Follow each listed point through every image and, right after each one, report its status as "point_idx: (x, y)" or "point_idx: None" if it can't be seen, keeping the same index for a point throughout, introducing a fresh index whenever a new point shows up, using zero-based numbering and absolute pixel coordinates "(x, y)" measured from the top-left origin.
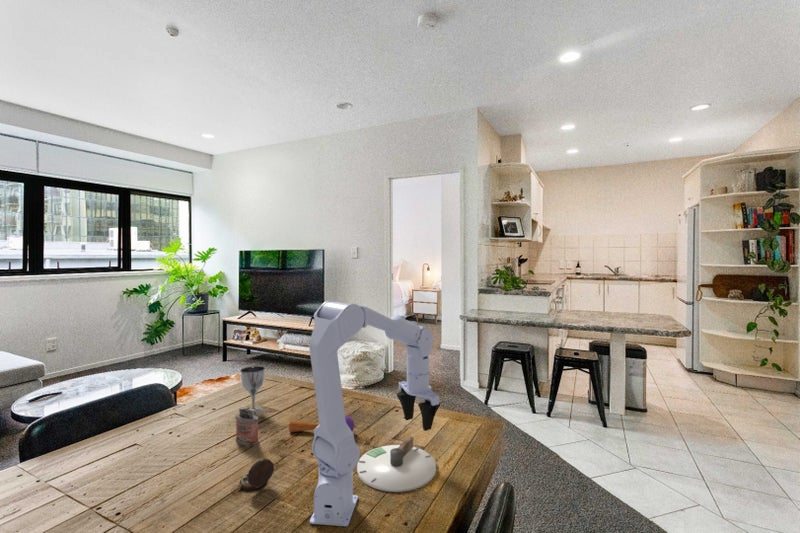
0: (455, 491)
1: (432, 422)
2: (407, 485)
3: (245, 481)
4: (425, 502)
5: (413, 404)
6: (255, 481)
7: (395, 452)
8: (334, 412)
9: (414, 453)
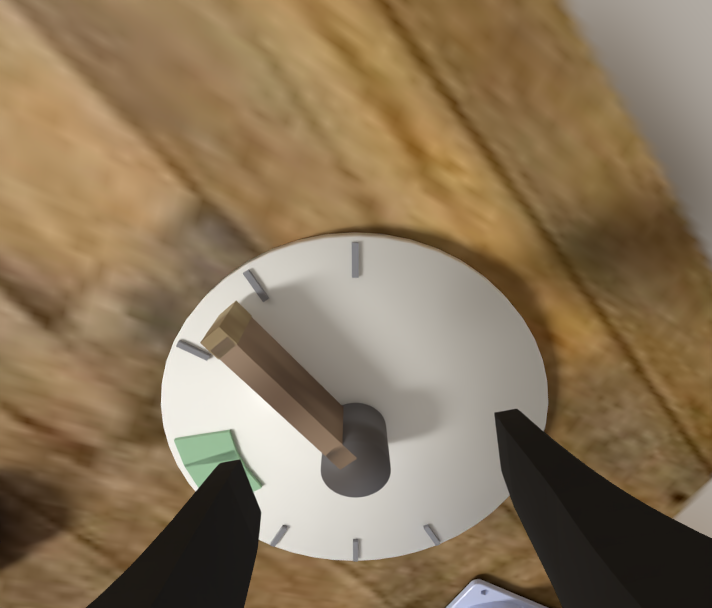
0: (658, 261)
1: (554, 443)
2: None
3: None
4: (633, 404)
5: (179, 572)
6: None
7: (365, 479)
8: None
9: (291, 311)
